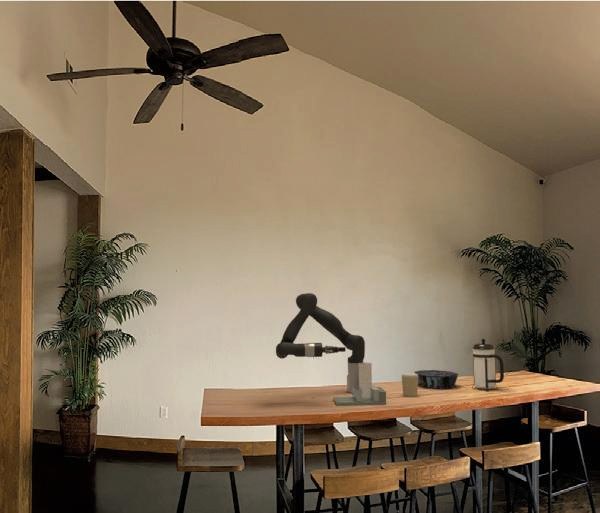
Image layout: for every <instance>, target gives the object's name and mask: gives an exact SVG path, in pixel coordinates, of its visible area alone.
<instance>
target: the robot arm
mask: <svg viewBox="0 0 600 513" xmlns="http://www.w3.org/2000/svg"><path fill="white" fill-rule="evenodd" d="M295 304H296V306H297V308H298V309H299V311H298V312H297V314H296V315H295V316H294V318H293V319H292V320H291V321H290V322H289V323H288V325H287V326H286V328H285V330H284V333H283V335H282V338H281V340H280V342H279V343H278V344H276V346H275V355H276V357H277V358H278V359H282V360H283V359H286V357H288V356H294V357H295V358H303V357H305V358H322V357H323V353H325V354H326V355H329V354H335V353H337V354H338V353H339V352H340V353H342V352H343V353H344V352H346V349H347V350H349V351H352V352H351V355H350V356H348V357H347V375H346V391H347V393H350V394H353V388H352V386H359V363H364V361H365V360H364V359H365V353H366V352H365V350H366V342H365V339H364V337H363V336H361V335H360V334H359V335H358V334H357V335H356V334H352V333H351V332H349V331H348V330H346V329H345V327H344V326H343V324H342V321H341V320H340V319H339V318H338V317H337V316H335V315H334V314H333V313H332V312H330V311H327V310H326V309H324V308H321V307H319V306H318V298H317V295H316V294H315V293H311V292H307V293H301V294H299V295H297V297H296V298H295ZM309 317H311V318H312V319H313V320H315V321H316V322H317V323H318V324H319V325H320V326H322V328H324V329H325V330H326V331H327V332H329V333H330V334H331V335H332V336H333V337H335V339H337V340H338V341H339V342H340V343H341V344H342V345H343V346H341V347H338V346H332V345H325V346H323V343H322V342H306V343H294V342H295V341H296V339H297V337H298V335H299V332H300V331H301V329H302V327H303V326H304V325H305V322H306V321H307V319H309Z"/></svg>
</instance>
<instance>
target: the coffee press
mask: <svg viewBox="0 0 600 513" xmlns="http://www.w3.org/2000/svg"><path fill="white" fill-rule="evenodd" d="M471 349H472V365H473V366H472V367H473V385H472V386H471V388H472V390H475V389H476V388H477V389H478V388H480V389H485V392H489V391H490V390H489V389H495V390H499V387H498V386H497V384H498V383H501V382H503V381H504V377H505V376H504V375H505V374H504V373H505V371H504V370H505V369H504V368H505V367H504V361H503V358H502V357H501V356H500V355H498V354H495V350H496V347H495V345H494V344H492V343H489V342H486V339H485V338H482V339H481V342H476V343H474V344H473V345H472V348H471ZM496 359H497V360H498V362H499V379H497V378H496V375H497V374H496ZM474 386H475V387H474Z"/></svg>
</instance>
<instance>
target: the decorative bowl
mask: <svg viewBox="0 0 600 513" xmlns="http://www.w3.org/2000/svg"><path fill="white" fill-rule="evenodd" d="M413 373H415V374H418V385H419V386H421V387H422V388H425V389H432V390H446V389H453V388H454V387H455V385H456V382H457V379H458V377H459V373H458V372H454V371H448V370H439V369H426V370H425V369H421V370H416V371H414V372H413Z"/></svg>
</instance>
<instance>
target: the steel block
mask: <svg viewBox="0 0 600 513" xmlns="http://www.w3.org/2000/svg"><path fill="white" fill-rule="evenodd" d="M372 370H373V369H372V363H371V362H363V363H359V387H360V388H361V389H362V400H372V385H373V382H372V381H373V378H372V377H373V375H372V374H373V372H372Z"/></svg>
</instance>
